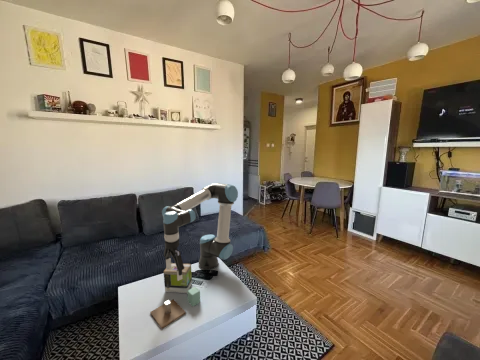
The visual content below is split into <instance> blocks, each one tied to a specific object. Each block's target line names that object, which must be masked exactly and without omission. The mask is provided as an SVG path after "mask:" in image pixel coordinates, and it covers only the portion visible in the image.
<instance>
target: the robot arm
mask: <svg viewBox="0 0 480 360" xmlns="http://www.w3.org/2000/svg"><path fill="white" fill-rule="evenodd" d="M238 196H239V192H238V189H237V187H236V185H235V186H234V185H232V184H227V183H220V182H216V183H211V184H209V185H207V186H205V187H203V188H201V190H200V191H198V192H195V194H192V195H191V196H188V197H187V198H185V199H183V200H181V201H179V202H178V203H175V204H174V205H171V206H169V205H168V206H167V205H166V206H165V207H163V208H162V210H161V215H162V219H163V220H162V222H163V232H164V233H163V234H164V236H163V238H164V252H163V257H164V259H165V269H166V270H169V269H171V263H172V259H173V261H174V263H175V264H176V266H177V270H176V271H177V281H179V280H181V279H183V278H182V270H183V269H184V265H183V264H184V262H183V258H182V255H181V254H182V253H181V251H180V250H178V247H179V246H180V232H179V228H181V227H182V226H185V225H188V224H190V223H192V222H195V220H196V212H195V210H193V208H195V207H197V206H199V205H200V204H202V203H203V202H205V201H209V200H211V199H217V203H218V204H219V209H218V220H217V232H216V235H215V234H204V235H202V236H201V238H200V239H199V249H200V252H199V253H200V257H199V260H198V267H199V268H200V269H202V270H206V269H208V270H213V269H214V268H216V267H218V265H219V259H222V260H227V259H229V258H230V256H231V255H232V253H233V251H234V246H233V244H231V239H230V237H229V236H230V226H231V213H232V206H233V205H234V204H235V202H236V201H237V199H238ZM171 258H172V259H171Z"/></svg>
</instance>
